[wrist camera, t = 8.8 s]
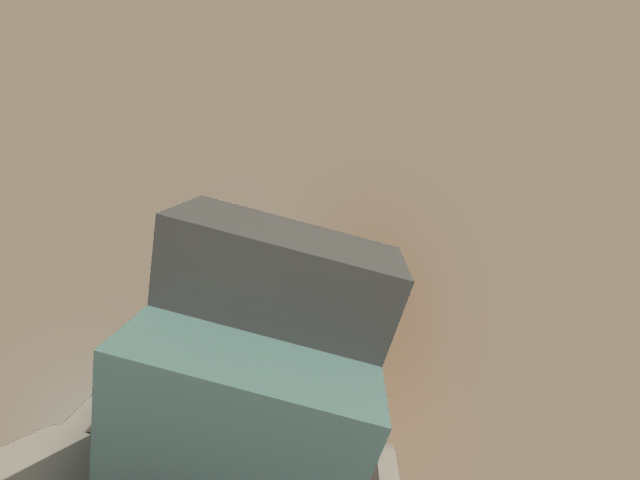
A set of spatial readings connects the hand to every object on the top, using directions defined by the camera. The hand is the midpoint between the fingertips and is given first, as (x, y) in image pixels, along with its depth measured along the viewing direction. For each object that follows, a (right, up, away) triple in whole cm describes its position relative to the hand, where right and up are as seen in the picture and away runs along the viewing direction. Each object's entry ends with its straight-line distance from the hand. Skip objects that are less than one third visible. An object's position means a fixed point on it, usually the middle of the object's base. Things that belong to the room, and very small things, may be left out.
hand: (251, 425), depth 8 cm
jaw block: (-2, -6, +1) cm, 6 cm away
